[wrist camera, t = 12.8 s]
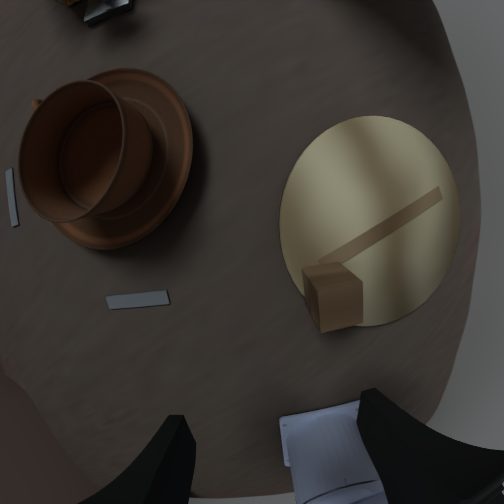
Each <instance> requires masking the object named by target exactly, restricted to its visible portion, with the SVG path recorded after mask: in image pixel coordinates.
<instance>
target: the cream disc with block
mask: <svg viewBox="0 0 504 504" xmlns="http://www.w3.org/2000/svg"><path fill="white" fill-rule="evenodd" d="M459 232H460V203H459V196H458V191H457V187H456V184H455V181H454V178H453V175H452V173H451V170H450V168H449V166H448V164H447V162H446V161H445V159H444V157H443V156H442V154H441V153H440V152H439V150H438V149H437V148H436V147H435V145H434V144H433V143H432V142H431V141H430V140H429V139H428V138H427V137H426V136H424V135H423V134H422V133H421V132H419V131H418V130H416V129H415V128H413V127H412V126H410V125H408V124H406V123H404V122H401V121H399V120H395V119H392V118H388V117H381V116H363V117H357V118H352V119H349V120H346V121H344V122H341V123H339V124H337V125H335V126H333V127H331V128H330V129H328V130H326V131H325V132H323V133H322V134H321V135H320V136H318V137H317V138H316V139H315V140H313V141H312V143H311V144H310V145H309V146H308V147H307V148H306V149H305V150H304V151H303V153H302V154H301V156H300V157H299V158H298V160H297V161H296V163H295V165H294V167H293V168H292V170H291V172H290V174H289V176H288V179H287V182H286V185H285V188H284V190H283V195H282V199H281V204H280V212H279V238H280V244H281V250H282V254H283V257H284V260H285V264H286V267H287V269H288V271H289V273H290V275H291V277H292V279H293V281H294V283H295V284H296V286H297V288H298V289H299V291H300V292H301V294H302V295H303V296H304V297H305V304H306V306H307V307H308V309H309V311H310V313H311V315H312V317H313V319H314V321H315V323H316V325H317V327H318V329H319V331H320V333H324V332H329V331H333V330H337V329H341V328H345V327H349V326H353V325H355V326H376V325H381V324H386V323H389V322H392V321H395V320H397V319H400V318H402V317H404V316H406V315H407V314H409V313H411V312H412V311H414V310H415V309H416V308H418V307H419V306H420V305H421V304H423V303H424V302H425V301H426V300H427V299H428V298H429V297H430V296H431V295H432V294H433V292H434V291H435V290H436V289H437V287H438V286H439V285H440V283H441V282H442V280H443V278H444V277H445V275H446V273H447V271H448V269H449V267H450V265H451V263H452V260H453V257H454V255H455V251H456V248H457V244H458V239H459Z"/></svg>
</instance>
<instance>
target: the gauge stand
mask: <svg viewBox="0 0 504 504" xmlns="http://www.w3.org/2000/svg"><path fill="white" fill-rule="evenodd" d="M132 4H133V0H88V2H87V7H86V11H85V17H84V22H85V23H86V24H87V25H88V26H91V25H93V24H95V23H97V22H100V21H102V20H104V19H107V18H109V17H112V16H114V15H117V14H120V13H122V12H125V11H128V10H131V9H132Z"/></svg>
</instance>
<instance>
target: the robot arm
mask: <svg viewBox="0 0 504 504" xmlns="http://www.w3.org/2000/svg"><path fill="white" fill-rule="evenodd" d="M279 423H280V431H281V439H282V447H283V456H284V464H285V466H290V468H291V474H292V480H293V486H294V492H295V498H296V504H504V495H503V494H502V491H503V490H504V487H503V485H502V483H503V482H504V451H503V450H493V449H486V448H481V447H477V446H473V445H469V444H466V443H463V442H460V441H457V440H454V439H452V438H449V437H447V436H445V435H442V434H441V433H439V432H436V431H435V430H433V429H431V428H429V427H428V426H426V425H424V424H423V423H421V422H420V421H418V420H417V419H415V418H414V417H412V416H411V415H409V414H408V413H407V412H405V411H404V410H402V409H401V408H400V407H398V406H397V405H396V404H395V403H393V402H392V401H391V400H390V399H388V398H387V397H386V396H385V395H383V394H382V393H381V392H380V391H379V390H377V389H376V388H372V389H368V390H365V391H361V397H360V400H357V401H354V402H350V403H346V404H342V405H338V406H334V407H330V408H325V409H321V410H316V411H311V412H306V413H301V414H295V415H289V416H283V417H281V418H280V419H279ZM195 459H196V442H195V440H194V438H193V435H192V433H191V431H190V429H189V427H188V424H187V422H186V420H185V418H184V415H169V416H168V417H167V418H166V420H165V421H164V423H163V424H162V425H161V427H160V428H159V430H158V431H157V432H156V434H155V435H154V437H153V438H152V439H151V441H150V442H149V443H148V444H147V446H146V447H145V448H144V449H143V451H142V452H141V453H140V454H139V455H138V456H137V458H136V459H135V460H134V461H133V462H132V463H131V464H130V465H129V466H128V467H127V468H126V469H125V470H124V471H123V472H122V473H121V474H120V475H119V476H118V477H117V478H116V479H114V480H113V481H112V482H111V483H109V484H108V485H107V486H105V487H104V488H103V489H102V490H100V491H99V492H97V493H95V494H94V495H92V496H90V497H89V498H87V499H85V500H83V501H82V502H80V503H78V504H188V501H189V496H190V490H191V485H192V479H193V474H194V468H195Z"/></svg>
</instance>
